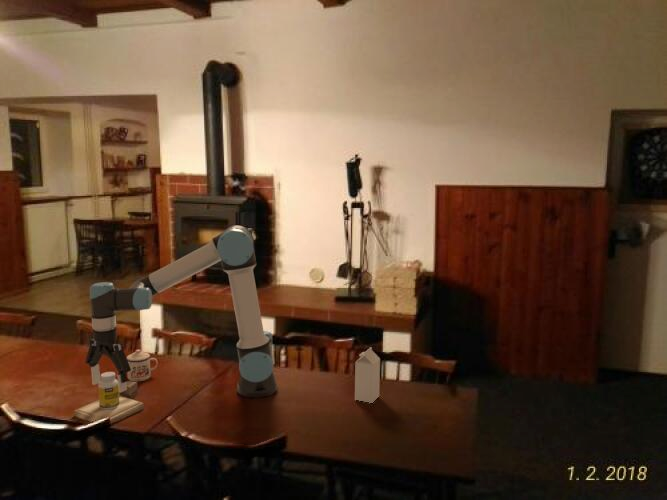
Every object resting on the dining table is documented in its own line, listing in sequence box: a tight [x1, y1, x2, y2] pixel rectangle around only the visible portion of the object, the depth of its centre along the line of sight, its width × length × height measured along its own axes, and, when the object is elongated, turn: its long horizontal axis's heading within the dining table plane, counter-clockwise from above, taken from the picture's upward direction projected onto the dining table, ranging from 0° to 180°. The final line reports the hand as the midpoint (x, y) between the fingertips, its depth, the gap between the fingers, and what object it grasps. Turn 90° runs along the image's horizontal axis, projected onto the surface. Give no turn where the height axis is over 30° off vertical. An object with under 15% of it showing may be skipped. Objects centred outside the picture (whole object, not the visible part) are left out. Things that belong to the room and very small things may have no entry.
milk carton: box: [354, 347, 381, 404], centre depth 199 cm, size 7×7×19 cm
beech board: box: [73, 396, 145, 424], centre depth 188 cm, size 16×16×2 cm
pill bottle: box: [97, 371, 119, 409], centre depth 187 cm, size 6×6×12 cm
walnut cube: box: [119, 380, 139, 400], centre depth 200 cm, size 5×5×5 cm
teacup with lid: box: [126, 349, 159, 383], centre depth 218 cm, size 12×9×12 cm
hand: (109, 387), depth 186 cm, fingers open, 13 cm apart
